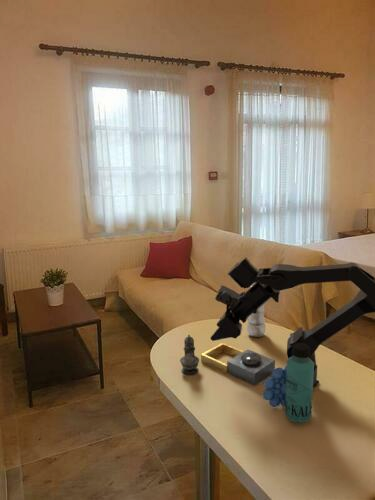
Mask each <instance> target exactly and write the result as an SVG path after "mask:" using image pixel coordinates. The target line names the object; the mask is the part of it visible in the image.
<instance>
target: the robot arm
mask: <svg viewBox="0 0 375 500" xmlns="http://www.w3.org/2000/svg"><path fill="white" fill-rule="evenodd" d="M227 276H229V277H230V279H232V281H234V283H235V284H237V285H238V286H239V287H240V288H241V289H242V288H243V289H247V290H246V291H242V292H240V293H238V292H237V291H235V290H233V289H231V288H229V287H227V286H225V285H221V286H220V287H219V290H218V291H217V294H216V296H215V301H217V302H220V303H222V304H224V305H226V310H225V312H224V313H223V315H222V316H221V317H220V319H219V320H218V321H217V322H216V326H217V329H216V330H215V331H214V333H213V334H212V335H211V336H210V340H211V341H212V342H215V341H220V340H223V339H229V338H230V339H231V338H232V339H235V340H236V339H237V338H238V337H239V336H241V334H242V331H243V324H245V323H246V322H247V321H248V317H249V316H250V315H251V314H253V313H254V314H255V313H256V312H257V310H258V308H260V307H261V306H262V305H263V304H264V303H265V304H266V303H267V302H268V301H269V300H271V298H272V299H273V301H275V303H279V301H280V300H279V299H280V293H281V292H280V291H284V290H288V289H294V288H295V287H297V286H300V285H304V284H305V285H306V284H319V283H335V282H351V283H353V284H354V285H355V286H356V287H357V288H358V289H359V291H358V293H357V294H356V295H355V296H354V298H353V299H352V300H351V301H349V302H348V303H346V304H345V305H343V306H342V307H341V308H339V309H338V310H336V311H335V312H334V313H332V314H331V315H329V316H328V317H326V318H325V319H323V320H322V321H321V322H319V323H318V324H316V325H315V326H314V327H312V328H310V329H304V328H303V327H302V326H300V327H299V328H297V329H296V331H294V332H291V333H289V337H288V339H287V341H286V342H287V343H286V356H287V358H288V359H289V358H290V357H292V356H294V355H293V354H292V348H293V345H294V344H295V343H305V344H307V345H309V347H310V356H309V357H308V358H309V359H311V360H312V361H313V363H314V374H313V389H314V388H315V387H316V386H317V385H319V384H320V380H318V374H317V373H318V364H317V360H316V351H317V350H318V348H319V346H320V345H321V344H322V343H324V342H326V341H327V340H328V339H330V338H331V337H333V336H335V335H336V334H337V333H339V332H340V331H343V330H344V329H345V328H347V327H348V326H350V325H351V324H352V323H354V322H356V321H358V319H360V318H361V317H363V316H364V315H367V314H371V313H375V276H373V275H372V273H371V274H370V273H369V272H367V270H365V269H363V268H362V267H360V266H359V264H358V263H355V262H348V263H342V264H340V263H339V264H327V265H314V266H297V265H293V264H285V263H276V264H274V265H272V266H271V267H264V268H258V269H257V268H256V267H255V266H254V265H253V264H252V263H251V261H250V259H248V258H247V257H246V256H245V257H244V258H243V259H241V260H240V261H238V262H236V264H234V265H233V266H232V267H231V268H230V269H229V270H228V272H227ZM255 281H256V283H255V284H254V285H253V286H252V287H251V285H252V284H253V283H254V282H255ZM240 321H241V322H242V323H243V324H242V323H241V322H240Z"/></svg>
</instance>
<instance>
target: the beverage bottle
mask: <svg viewBox="0 0 375 500" xmlns="http://www.w3.org/2000/svg"><path fill="white" fill-rule="evenodd" d="M292 354H293V355H294V356H292V357H290V358H288V359H287V360H286V365H287V375H286V380H285V381H286V383H285V384H286V397H285V406H284V407H283V408H284V413H285V416H286V418H287V419H288V420H290V421H292V422H295V423H306V422H308V421H310V419H311V418H312V411H313V400H314V397H313V396H314V395H313V394H314V393H313V392H314V388H313V374H314V363H313V361H312V360H311V359H309V358H308V357H309V356H310V347H309V345H307V344H305V343H295V344H294V345H293V348H292Z"/></svg>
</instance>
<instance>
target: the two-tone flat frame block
mask: <svg viewBox="0 0 375 500" xmlns="http://www.w3.org/2000/svg"><path fill="white" fill-rule="evenodd" d="M222 352H224V353H227V354H228V355H231V356H233V357H232V358H230V359H229V360H227V361H226V363H224V362H222V361H220V360H218V359H215V358H214V357H215V356H217V355H219V354H221V353H222ZM200 362H201V363H203V364H204V365H208V366H210V367H212V368H214V369H216V370H218V371H220V372H223V373H224V374H226V375H227V374H228V375H231V376H232V377H234V378H236V379H239V380H240V381H242V382H245V383H247V384H249V385H251V386H253V387H256V386H257V385H259V384H260V383H262V382H264V381H265V380H266V379H267V378H269V377H271V376H272V373H273V371H274V370H275V369H276V359H273V358H271V357H268V356H266V355H264V354H260V353H258V352H256V351H253V350H251V349H246V350H241V349H239V348H237V347H234V346H231V345H229V344H227V343H225V342H221V343H219V344H218V345H216V346H214V347H212V348H211V349H208V350H207V351H205V352H203V353H200Z"/></svg>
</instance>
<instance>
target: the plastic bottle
mask: <svg viewBox="0 0 375 500" xmlns="http://www.w3.org/2000/svg"><path fill="white" fill-rule="evenodd" d="M255 283H256V281H255V282H254V283H253V284H252V285H251V286H250V288H251V287H252V286H253V285H254V284H255ZM265 304H266V303H264V304H263V305H262V306H261V307H260V308H258V310H257V312H256V313H255V314H254V313H253V314H251V315H250V316H249V317H248V318H247V324H246V332H247V334H248V335H249V336H251V337H254V338H259V337H263V336H264V335H265V334H266V323H265Z"/></svg>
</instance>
